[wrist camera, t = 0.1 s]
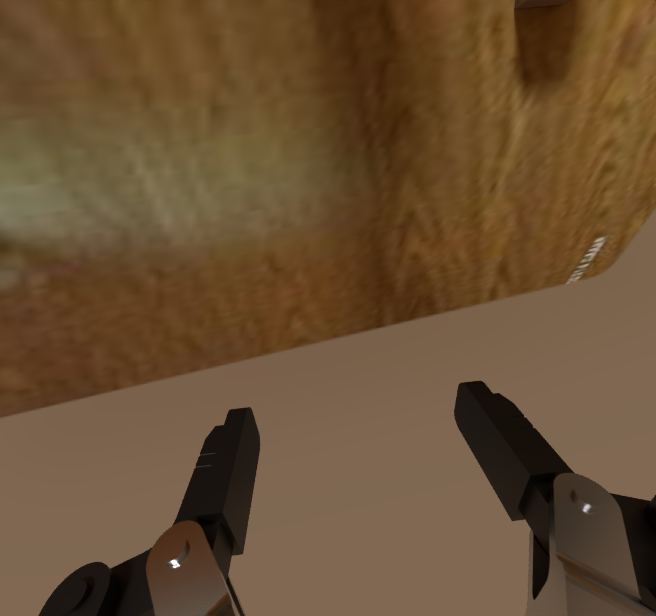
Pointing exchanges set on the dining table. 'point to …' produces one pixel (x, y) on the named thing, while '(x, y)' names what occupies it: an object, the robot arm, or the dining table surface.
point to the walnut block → (538, 3)
